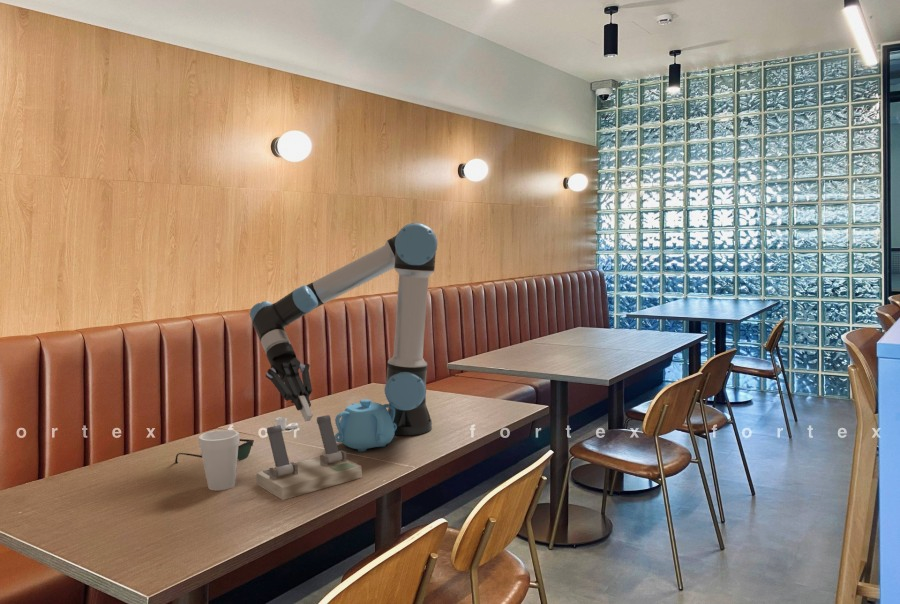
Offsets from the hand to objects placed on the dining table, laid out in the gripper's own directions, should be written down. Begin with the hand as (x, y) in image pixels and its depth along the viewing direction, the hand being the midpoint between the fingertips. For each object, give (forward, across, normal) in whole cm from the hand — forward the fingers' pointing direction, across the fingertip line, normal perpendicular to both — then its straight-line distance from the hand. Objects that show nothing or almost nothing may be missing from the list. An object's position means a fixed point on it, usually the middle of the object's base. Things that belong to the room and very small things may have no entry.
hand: (309, 418), depth 187 cm
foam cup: (+9, +24, -10) cm, 28 cm away
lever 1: (+15, +13, +1) cm, 20 cm away
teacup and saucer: (-14, -10, -34) cm, 38 cm away
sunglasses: (-6, +19, -25) cm, 32 cm away
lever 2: (+15, -1, +1) cm, 15 cm away
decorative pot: (+6, -21, -12) cm, 25 cm away
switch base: (+17, +6, -1) cm, 18 cm away
